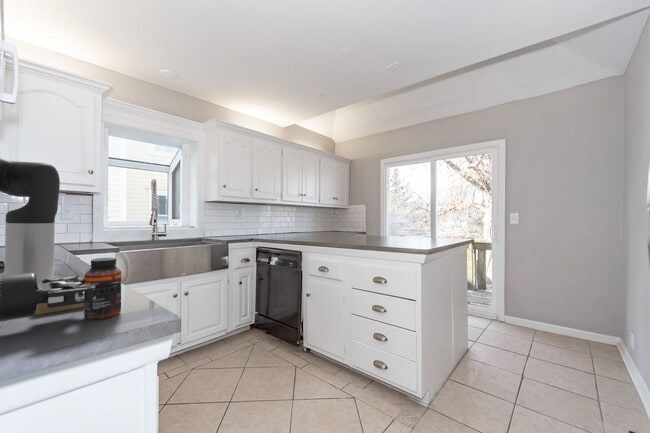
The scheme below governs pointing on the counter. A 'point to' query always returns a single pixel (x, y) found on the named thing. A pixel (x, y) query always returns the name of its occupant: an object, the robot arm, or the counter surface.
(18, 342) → the counter surface
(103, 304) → the supplement bottle
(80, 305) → the oak base
